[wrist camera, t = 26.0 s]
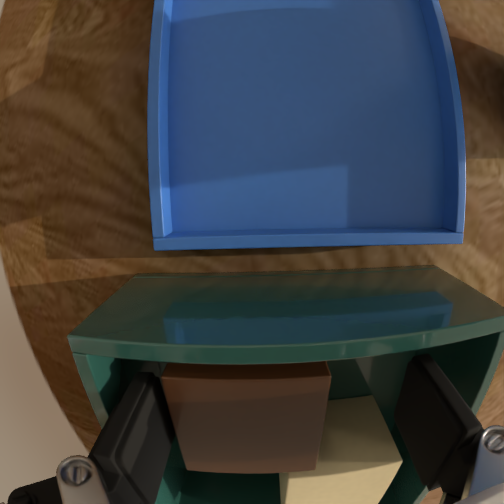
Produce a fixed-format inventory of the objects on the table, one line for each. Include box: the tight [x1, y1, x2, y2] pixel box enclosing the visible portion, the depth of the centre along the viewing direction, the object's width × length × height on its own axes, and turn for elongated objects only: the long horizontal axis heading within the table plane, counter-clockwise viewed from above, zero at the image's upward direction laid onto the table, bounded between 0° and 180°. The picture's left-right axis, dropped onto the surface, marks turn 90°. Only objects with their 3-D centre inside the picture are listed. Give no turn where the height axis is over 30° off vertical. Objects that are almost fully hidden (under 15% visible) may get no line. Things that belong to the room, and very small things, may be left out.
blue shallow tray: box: [147, 0, 466, 251], centre depth 10 cm, size 19×13×2 cm
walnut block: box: [161, 361, 331, 473], centre depth 11 cm, size 5×5×5 cm
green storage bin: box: [67, 265, 504, 504], centre depth 12 cm, size 14×14×6 cm
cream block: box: [279, 395, 403, 504], centre depth 12 cm, size 5×5×5 cm
